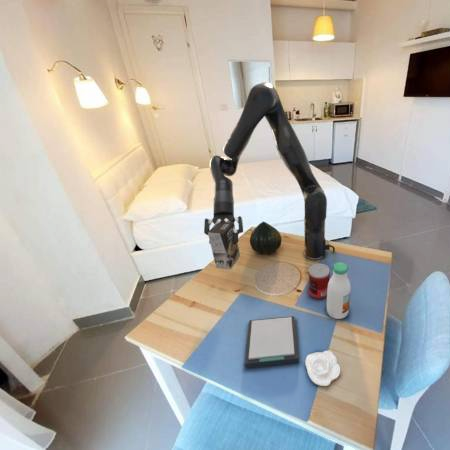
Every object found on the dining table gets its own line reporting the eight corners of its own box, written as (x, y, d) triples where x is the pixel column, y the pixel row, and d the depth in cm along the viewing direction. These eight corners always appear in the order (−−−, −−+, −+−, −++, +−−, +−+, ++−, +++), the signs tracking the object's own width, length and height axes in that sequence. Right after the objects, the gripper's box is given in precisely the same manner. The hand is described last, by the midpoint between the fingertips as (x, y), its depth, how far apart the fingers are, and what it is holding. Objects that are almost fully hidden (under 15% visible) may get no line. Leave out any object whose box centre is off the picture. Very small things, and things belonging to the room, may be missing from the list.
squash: (267, 254, 110) (276, 222, 112) (240, 248, 116) (249, 217, 118) (281, 259, 123) (289, 229, 125) (256, 252, 129) (263, 225, 131)
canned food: (330, 287, 99) (331, 265, 94) (326, 301, 92) (326, 278, 87) (312, 283, 101) (312, 261, 96) (306, 297, 95) (306, 274, 89)
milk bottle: (334, 323, 84) (337, 277, 74) (322, 307, 90) (323, 263, 80) (353, 314, 87) (358, 269, 77) (340, 299, 93) (343, 256, 83)
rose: (344, 349, 71) (337, 383, 63) (343, 358, 73) (336, 392, 65) (310, 339, 74) (299, 370, 66) (310, 349, 76) (299, 380, 68)
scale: (294, 320, 85) (294, 314, 84) (298, 363, 72) (298, 356, 70) (250, 325, 84) (249, 318, 82) (246, 368, 71) (244, 362, 69)
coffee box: (231, 270, 94) (223, 233, 86) (215, 268, 95) (206, 232, 87) (241, 255, 102) (234, 221, 94) (226, 254, 103) (219, 220, 95)
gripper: (201, 201, 93) (201, 244, 89) (240, 199, 94) (241, 241, 90) (208, 208, 101) (207, 248, 96) (243, 206, 101) (245, 245, 97)
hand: (224, 244), depth 93 cm, fingers closed on coffee box, 8 cm apart
